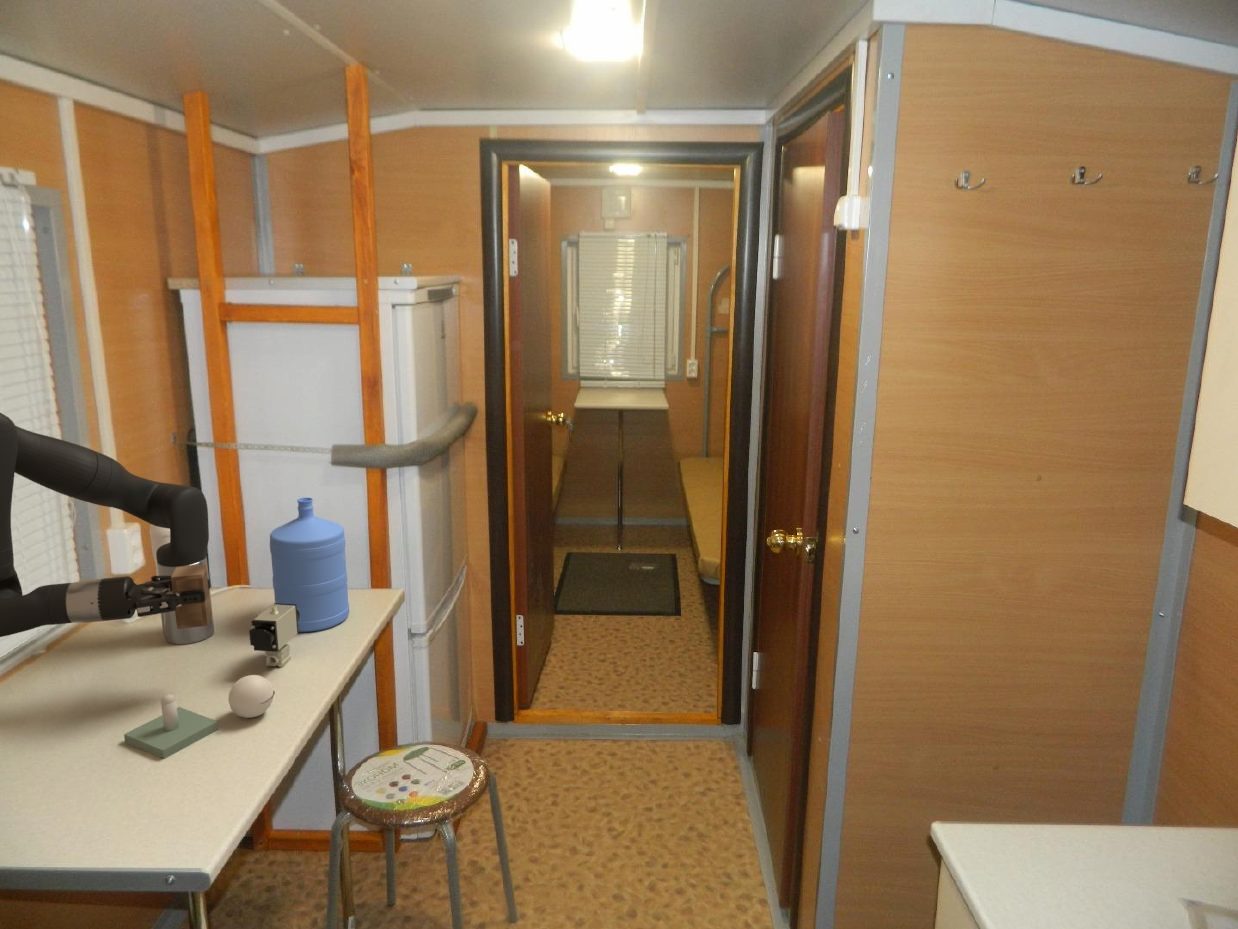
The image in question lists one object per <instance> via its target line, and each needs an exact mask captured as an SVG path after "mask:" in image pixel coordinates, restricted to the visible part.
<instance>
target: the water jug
mask: <svg viewBox="0 0 1238 929" xmlns="http://www.w3.org/2000/svg"><path fill="white" fill-rule="evenodd" d="M313 500H314V498H312V497H302V498H298V499H297V500H296V502H297V504H298V505H297V511H298V515H297V517H296V518H295V519H292V520H291V521H289V522H286V523H284V524H282V525H280V526H278V527H276V528H274V529H273V530H272V531H271V532H270V535H269V550H270V551H269V552H270V556H271V557H270V558H271V568H272V588H273V590H274V591H273V593H274V603H281V604H296V605H297V610H298V611H299V613H300V620H299V621H298V630H299V633H303V632H317V631H323V630H326V629H330V628H333V627H335V626H337V625H339V624H341V623H343V622H344V621H345V620H346V619H347V618H348V616H349V615H350V604H349V597H348V596H349V595H348V593H349V592H348V574H347V572H348V571H347V564H346V563H347V562H346V560H347V558H346V536H345V529H344V527H343V526H342V525H341V524H340V523H338V522H334V521H331V520H328V519H324V518H321V517H317V516H315V514H314V505H313Z"/></svg>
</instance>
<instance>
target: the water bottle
mask: <svg viewBox="0 0 1238 929" xmlns="http://www.w3.org/2000/svg"><path fill="white" fill-rule="evenodd" d="M148 533H149V536H150V543H151V551H152V553H151V554H152V556H153V557H152V558H153V560H154V564H155V571H156V575H155V576H159V574H158V565H157V557H156V552H157V549H158V548H159V547H161V546H162V545H164V544H167V543H170V529H168V528H162V527H157V526H154V525H152V524H150V525H149V532H148Z"/></svg>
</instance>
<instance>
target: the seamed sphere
mask: <svg viewBox="0 0 1238 929" xmlns="http://www.w3.org/2000/svg"><path fill="white" fill-rule="evenodd" d="M270 680H271V677H270V678H269V680H268V679H267V678H266V677H264V676H262V675H258V674H251V675H246V676H243V677H241V678H239V679H238V680H237V681H236V682H234V683H233V685H232V686H231V689H230V690H229V693H228V699H227V700H228V704H229V707H230V710H232V712H233V713H234V714H235V715H236V716H239V717H242V718H244V719H245V718H247V719H249V718H250V719H251V718H255V717H258V716H261V715H263V714H264V713H266V711H267V710H269V708H270V707H271V705H272V703H273V701H274V696H275V691H274V689H273V686H272V684H271V683H270Z"/></svg>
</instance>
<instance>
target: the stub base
mask: <svg viewBox="0 0 1238 929" xmlns="http://www.w3.org/2000/svg"><path fill="white" fill-rule="evenodd" d="M160 706H161V715H159V716H158V717H156V718H154V719H151V720H150V721H148V722H146V723H144V724H142V725H139V726H138V727H137V726H136V728H134V729H132V730H130V731H127V732H126V733H123V736H124V743H126V744H128V745H130V746H133V747H136V748H138V749H140V750H142V751H145V752H148V753H150V754H152V755H155V756H156V757H159V758H162V759H166V758H169V757H170V756H173V755H174V754H175V753H177V752H179V751H181V750H183V749H185V748H187V747H189V746H190V745H192V744H194V743H195V742H197V741H199V740H201V739H203V738H206V737H207V736H208V735H210V734H212V733H214V732H216V731H217V730H219V721H218V720H215V719H213V718H210V717H207V716H204V715H202V714H198V713H197V712H193V711H191V710H188V709H185V708H183V707H180V706H178V705H177V699H176V696H175V695H174V694H172V693H167V694H165V695H163V696H162V697H161V699H160ZM177 706H178V707H177Z"/></svg>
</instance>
